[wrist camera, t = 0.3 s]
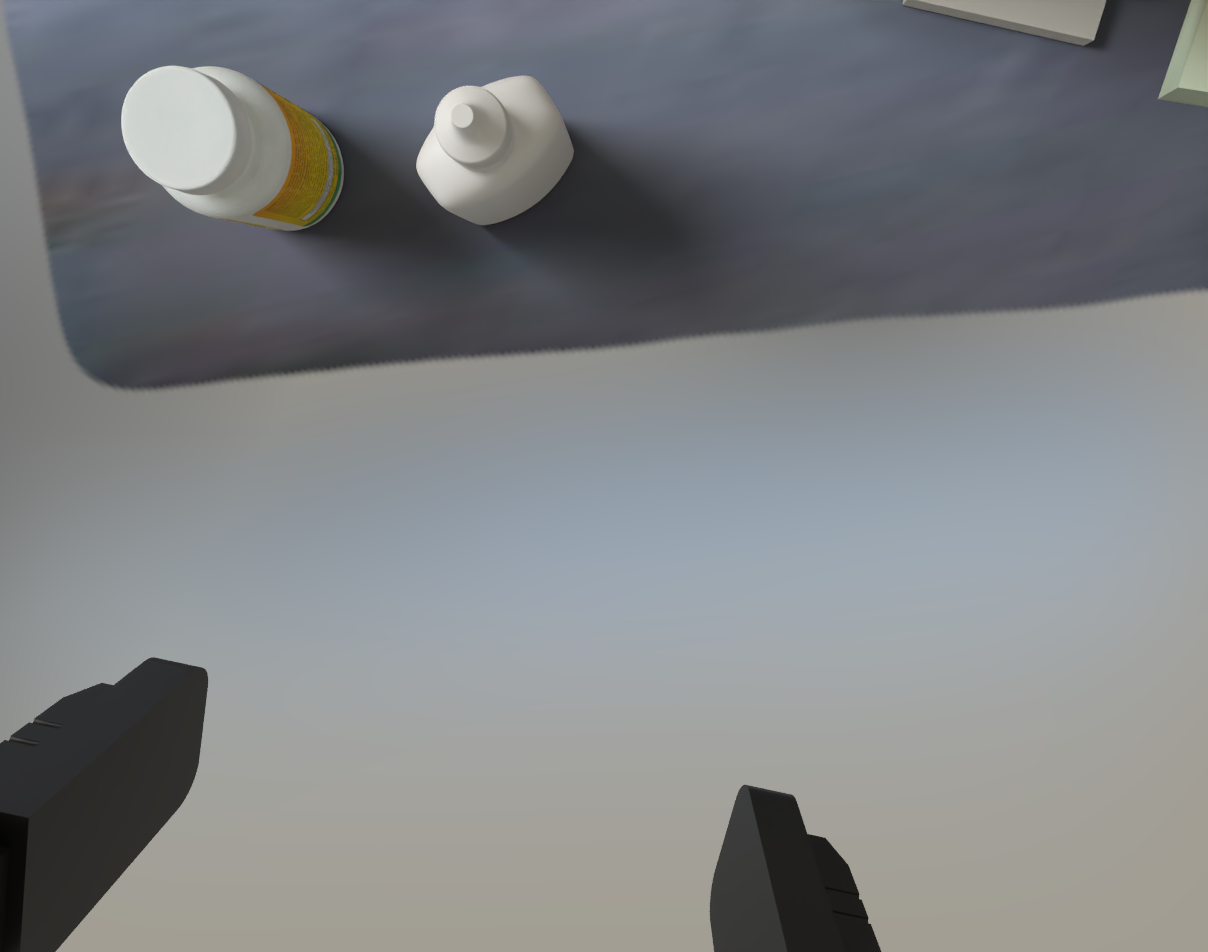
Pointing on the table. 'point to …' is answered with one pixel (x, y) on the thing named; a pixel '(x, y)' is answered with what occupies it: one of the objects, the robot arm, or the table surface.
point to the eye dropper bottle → (495, 150)
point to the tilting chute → (1190, 60)
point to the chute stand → (1027, 15)
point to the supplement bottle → (232, 147)
